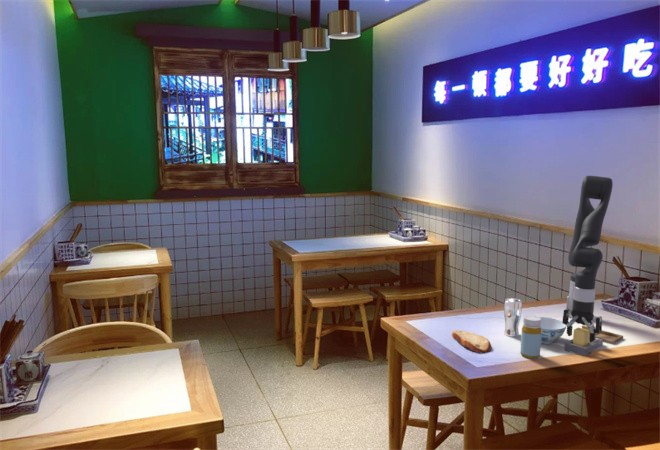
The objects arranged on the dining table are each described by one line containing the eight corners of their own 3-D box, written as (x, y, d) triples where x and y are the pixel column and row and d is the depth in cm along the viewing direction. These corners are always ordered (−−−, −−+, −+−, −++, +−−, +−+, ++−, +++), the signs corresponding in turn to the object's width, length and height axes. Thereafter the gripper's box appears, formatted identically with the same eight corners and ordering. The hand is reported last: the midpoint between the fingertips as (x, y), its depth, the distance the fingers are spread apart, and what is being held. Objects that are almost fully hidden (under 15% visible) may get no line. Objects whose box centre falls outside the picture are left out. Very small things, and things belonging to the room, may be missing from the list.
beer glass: (520, 332, 230) (522, 299, 227) (519, 338, 223) (521, 303, 221) (503, 330, 233) (505, 297, 230) (501, 335, 226) (503, 301, 224)
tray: (585, 338, 223) (585, 334, 223) (595, 333, 230) (596, 328, 229) (612, 346, 215) (613, 341, 215) (623, 340, 221) (623, 335, 221)
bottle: (517, 352, 209) (519, 315, 206) (534, 351, 209) (536, 314, 207) (525, 359, 202) (527, 321, 200) (543, 358, 202) (545, 320, 200)
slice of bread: (453, 333, 230) (453, 324, 230) (496, 340, 222) (497, 331, 222) (441, 347, 215) (442, 338, 214) (487, 355, 206) (488, 346, 206)
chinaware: (547, 350, 211) (548, 331, 210) (517, 338, 224) (518, 320, 223) (573, 343, 218) (574, 325, 216) (543, 332, 231) (544, 314, 230)
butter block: (572, 349, 211) (573, 329, 209) (577, 346, 213) (578, 327, 212) (582, 352, 208) (584, 332, 206) (587, 349, 210) (588, 330, 209)
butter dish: (564, 350, 211) (566, 329, 210) (582, 340, 221) (583, 321, 219) (585, 356, 205) (586, 335, 204) (602, 346, 215) (604, 326, 213)
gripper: (561, 296, 210) (558, 335, 213) (598, 304, 199) (594, 346, 202) (570, 292, 215) (567, 331, 217) (607, 300, 204) (603, 341, 207)
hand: (580, 338), depth 210 cm, fingers open, 8 cm apart
